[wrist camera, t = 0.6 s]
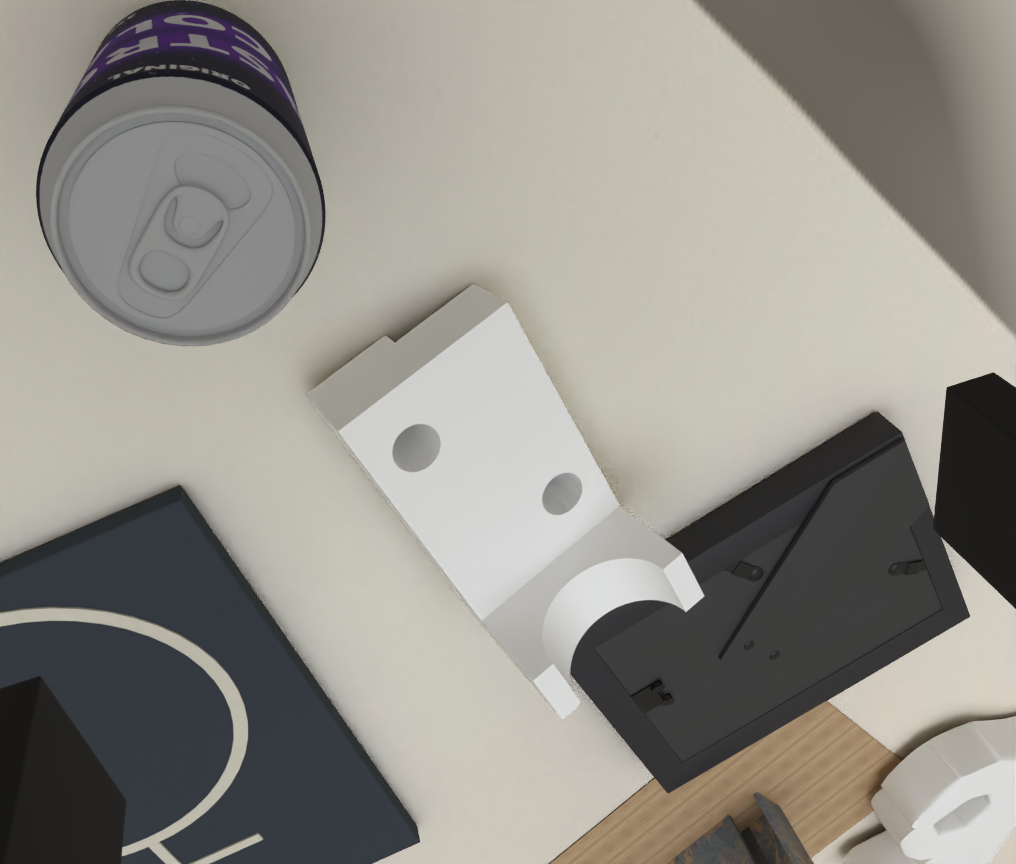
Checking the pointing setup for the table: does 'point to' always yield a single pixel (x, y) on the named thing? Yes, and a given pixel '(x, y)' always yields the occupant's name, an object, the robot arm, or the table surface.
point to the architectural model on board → (751, 802)
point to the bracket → (499, 485)
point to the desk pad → (192, 697)
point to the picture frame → (777, 607)
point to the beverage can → (182, 179)
